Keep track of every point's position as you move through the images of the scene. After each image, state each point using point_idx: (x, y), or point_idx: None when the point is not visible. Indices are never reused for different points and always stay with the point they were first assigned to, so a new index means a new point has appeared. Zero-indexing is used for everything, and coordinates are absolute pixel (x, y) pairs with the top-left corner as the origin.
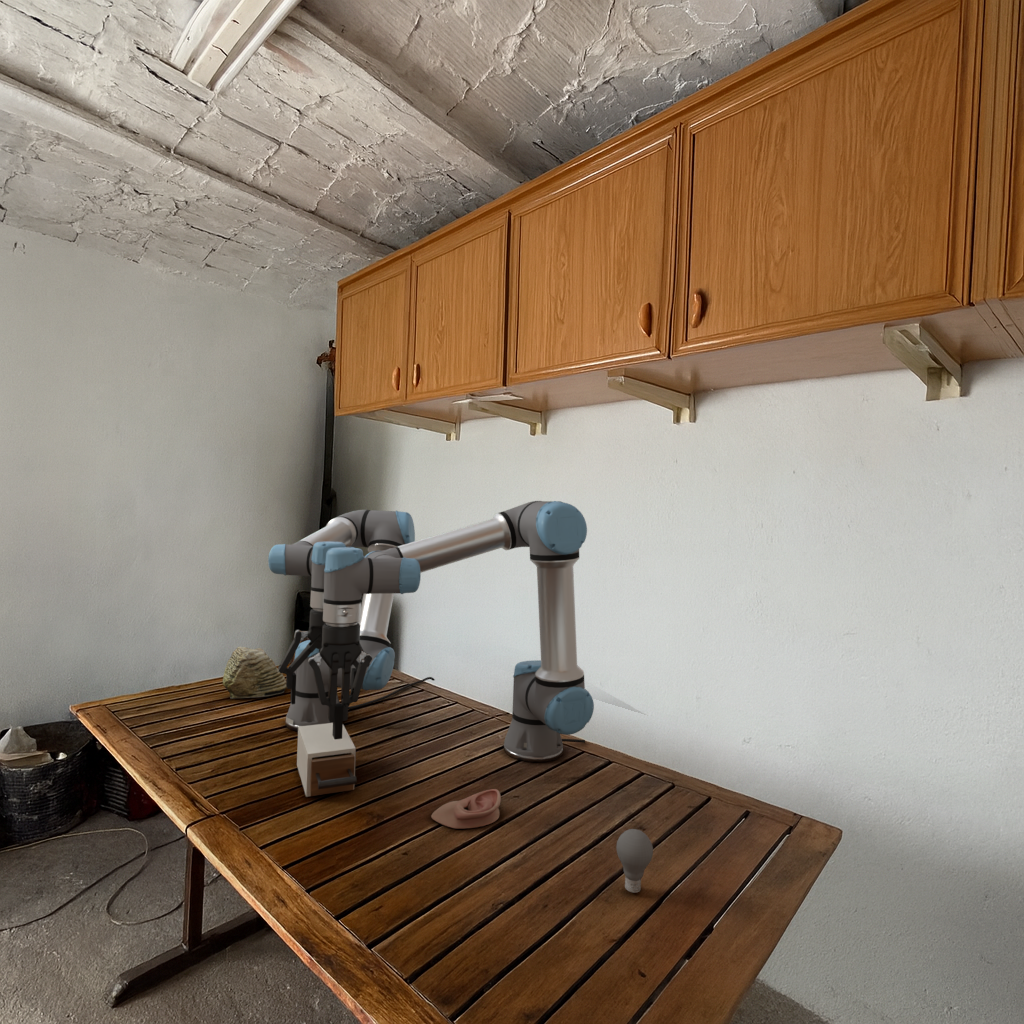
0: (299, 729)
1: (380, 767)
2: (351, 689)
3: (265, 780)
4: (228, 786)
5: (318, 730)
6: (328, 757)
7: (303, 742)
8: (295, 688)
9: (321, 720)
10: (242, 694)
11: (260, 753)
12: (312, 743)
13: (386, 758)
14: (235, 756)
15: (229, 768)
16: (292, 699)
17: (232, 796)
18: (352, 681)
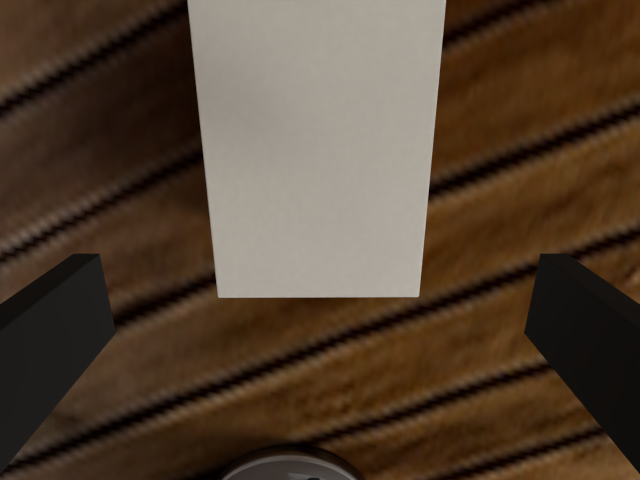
0: (421, 259)
1: (116, 124)
2: (82, 343)
3: (505, 149)
4: (621, 141)
5: (339, 220)
6: None
7: (437, 85)
8: (627, 320)
9: (277, 477)
10: None
11: (475, 350)
12: (400, 43)
13: (90, 194)
14: None
15: None
16: (584, 270)
17: (632, 55)
18: (20, 369)
